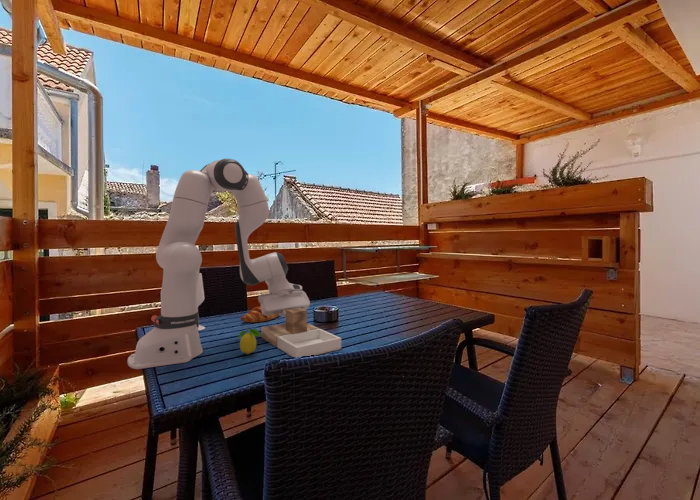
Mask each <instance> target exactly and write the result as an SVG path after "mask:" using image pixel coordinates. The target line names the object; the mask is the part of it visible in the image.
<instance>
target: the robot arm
mask: <svg viewBox="0 0 700 500" xmlns="http://www.w3.org/2000/svg"><path fill="white" fill-rule="evenodd" d="M217 192H218V193H219V192H230V193H231V194H232V195H233V196H234V199H235V200H236V204H237V207H238V212H239V215H238V220H237V221H235V225H234V230H235V231H234V232H235V240H236V247H237V248H236V249H237V253H238V259H239V276H240V279H241V280H242V282H243V283H244V284H245V285H248V286H252V287H253V286H256V285H258V284H259V283H262V282H264V281H265V284H266V285H267V290H268V293H261V294H260V295H258V297H257V300H258V303H259V304H260V307H261V310H262V314H263V315H265V316H268V315H274V314H281V315H282V316H283V317H284V318H285V319H286V310H288V309H295V308H301V309H304V310H307V311H308V309H309V307H310V305H311V301H310V298H309V297H308V295H307V292H305V291H304V290H303V286H302V285H300V284H296V283H295V284H294V283H291V282H289V281H288V279H287V278H286V276H287V274H288V271H289V267H288V264H287V262H286V260H285V256H284V255H283V254H282V253H280V252H278V251H276V252H271V253H267V254H264V255H262V256H259V257H256V258H252V259H251V258H250V250H249V245H248V240H249V237H250V235H251V234H252V233H253V232H254V231H256V230H257V229H258V228H259V227H261V226H262V225H263V224H264V223H265V222H266V221H267V220H268V219H269V215H270V208H269V204H268V200H267V197H266V194H265V191H264V189H263V186H262V185H261V182H260V180H259V179H258V177H257V176H255V175H254V174H250V173H248V172H247V171H246V169H245V168H244V166H242V164H241V163H240V162H239V161H238V160H235V159H232V158H222V159H219V160H218V159H217V160H214V161H212V162H210V163H208V164H206V165H204V166H203V167H202V168H201V169H200V170H197V169H196V170H195V169H188V170H185V171H184V172H182V174H181V176H180V178H179V180H178V182H177V185H176V187H175V190H174V195H173V198H172V203H171V205H170V206H171V207H170V211H169V214H168V218H167V221H166V224H165V228H164V230H163V232H162V234H161V237H160V241H159V243H158V247H157V250H156V254H155V259H156V260H155V261H156V263H157V265H158V266H159V267H160V268H162V269H163V272H162V273H163V274H162V275H163V276H162V284H161V290H160V314H159V315H158V316H157V315H156V314H155V315H152V316H151V318H150V319H151V321H152V322H153V323H154V327H153V328H152V329H151V330H149V331H148V332H147V333H146V334H144V335H143V336H142V337H141V338H139V340H138V341H137V342H136V343H137V344H136V345H135V346H136V347H135V352H134V353H131V354H130V355H129V356H128V357H127V361H126V362H127V366H128V367H130V369H135V370H141V369H148V368H155V367H161V366H162V367H163V366H167V365H168V366H169V365H175V364H176V365H177V364H183V363H184V364H185V363H189V362H190V361H191V360H193V359H194V358H196V357H198V356H200V355H201V354H202V353H203V352H204V350H203V346H202V344H201V343H202V342H201V339H200V335H199V330H198V327H199V325H200V316H199V311H198V312H197V283H198V277H199V273H200V267H201V265H202V262H203V257H202V253H201V251H200V249H199V248H198V247H197V246H195V245H196V242H197V240H198V238H199V235H200V233H201V231H202V230H203V228H204V224H205V219H206V216H207V211H208V207H209V202H210V197H211V195H212V193H217Z"/></svg>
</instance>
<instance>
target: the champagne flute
mask: <svg viewBox="0 0 700 500" xmlns="http://www.w3.org/2000/svg"><path fill="white" fill-rule="evenodd" d="M205 300H206V299H205V291H204V282H203V275H202V273H201V272H199V277H198V283H197V312H198V313H199V306H201V305H202V303H203V302H204V301H205ZM205 329H206V327H205V326H204V325H201V324H199V327H198V331H202V330H205Z"/></svg>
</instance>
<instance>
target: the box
mask: <svg viewBox="0 0 700 500" xmlns="http://www.w3.org/2000/svg"><path fill="white" fill-rule="evenodd" d="M277 348H278V349H279V350H280V351H282V352H284V353H285V354H287V355H289V356H290V357H291V358H293V357H302V356H310V357H312V356H311V355H314V356H318V355H322V354H325V353H331V352H334V351H338V350H339V351H340V350H342V337H339V336H338V335H335V334H334V333H330V332H329V331H326V330H325V329H323V328H318V329H315V330H309V331H306V332H300V333H295V334H289V335H283V336H278V337H277Z"/></svg>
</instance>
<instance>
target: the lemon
mask: <svg viewBox="0 0 700 500" xmlns="http://www.w3.org/2000/svg"><path fill="white" fill-rule="evenodd" d="M256 337H261V333H260V332H259V331H258V330H257V329H255V328H249V327H247V329H246V330H242V331H241V332H240V333H239V334H238V336H237V340H238V339H240V341H239V349H240V351H241V352H242V353H244V354H246V355H248V356H249V355H250V354H251V353H253V352H255V350H256V349H257V339H256Z"/></svg>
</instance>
